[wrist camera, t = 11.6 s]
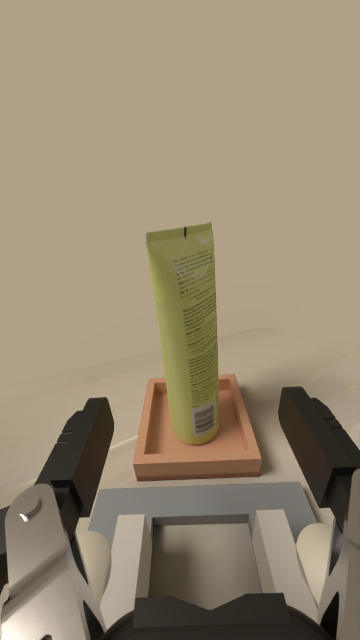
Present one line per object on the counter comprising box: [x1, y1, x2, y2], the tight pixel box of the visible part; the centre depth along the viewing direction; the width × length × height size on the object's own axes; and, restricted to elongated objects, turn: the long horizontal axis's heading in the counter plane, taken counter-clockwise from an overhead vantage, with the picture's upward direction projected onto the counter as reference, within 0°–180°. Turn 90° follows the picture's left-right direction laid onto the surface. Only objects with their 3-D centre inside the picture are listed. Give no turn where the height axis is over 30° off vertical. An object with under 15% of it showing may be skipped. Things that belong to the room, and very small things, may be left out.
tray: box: [133, 374, 262, 481], centre depth 25 cm, size 11×11×2 cm
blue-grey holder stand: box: [76, 482, 333, 630], centre depth 13 cm, size 17×12×5 cm
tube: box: [145, 222, 219, 445], centre depth 20 cm, size 6×5×20 cm
